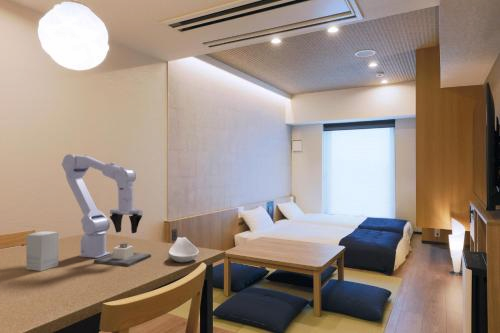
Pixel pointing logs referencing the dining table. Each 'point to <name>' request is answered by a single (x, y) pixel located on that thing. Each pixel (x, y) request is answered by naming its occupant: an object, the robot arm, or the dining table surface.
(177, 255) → the spoon rest
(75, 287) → the dining table surface
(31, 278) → the dining table surface
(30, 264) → the supplement box
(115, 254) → the white hollow block
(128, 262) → the post board
